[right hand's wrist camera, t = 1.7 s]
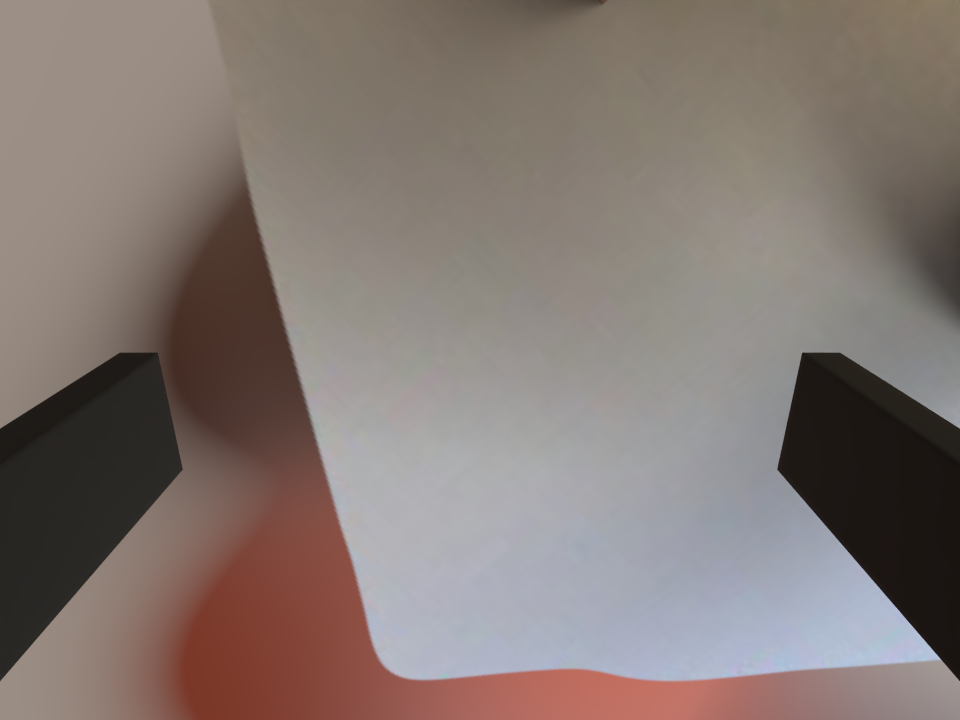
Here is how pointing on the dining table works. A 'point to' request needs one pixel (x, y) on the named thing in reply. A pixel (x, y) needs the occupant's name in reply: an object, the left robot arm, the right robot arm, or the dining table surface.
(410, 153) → the dining table surface
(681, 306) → the dining table surface
